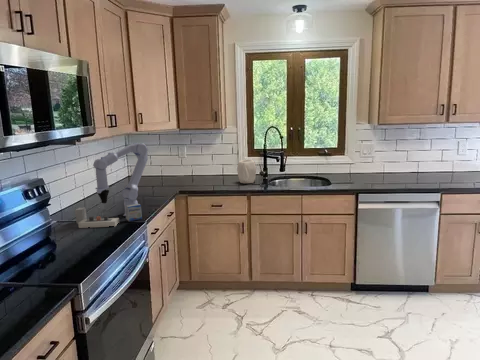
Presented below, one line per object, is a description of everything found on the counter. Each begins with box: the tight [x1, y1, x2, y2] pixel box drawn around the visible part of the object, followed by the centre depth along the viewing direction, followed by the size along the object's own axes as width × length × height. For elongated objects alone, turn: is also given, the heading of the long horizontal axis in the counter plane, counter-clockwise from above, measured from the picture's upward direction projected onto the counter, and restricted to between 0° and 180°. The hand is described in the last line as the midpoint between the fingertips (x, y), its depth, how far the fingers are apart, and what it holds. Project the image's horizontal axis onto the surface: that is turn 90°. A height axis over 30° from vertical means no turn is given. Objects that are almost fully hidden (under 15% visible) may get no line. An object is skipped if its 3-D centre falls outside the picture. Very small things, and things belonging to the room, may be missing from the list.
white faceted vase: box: [236, 159, 257, 184], centre depth 314 cm, size 16×27×19 cm, turn 169°
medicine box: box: [124, 203, 143, 222], centre depth 216 cm, size 8×4×9 cm, turn 126°
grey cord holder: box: [74, 207, 88, 225], centre depth 215 cm, size 5×4×8 cm
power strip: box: [77, 217, 120, 229], centre depth 208 cm, size 7×20×3 cm, turn 91°
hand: (104, 203), depth 217 cm, fingers closed
